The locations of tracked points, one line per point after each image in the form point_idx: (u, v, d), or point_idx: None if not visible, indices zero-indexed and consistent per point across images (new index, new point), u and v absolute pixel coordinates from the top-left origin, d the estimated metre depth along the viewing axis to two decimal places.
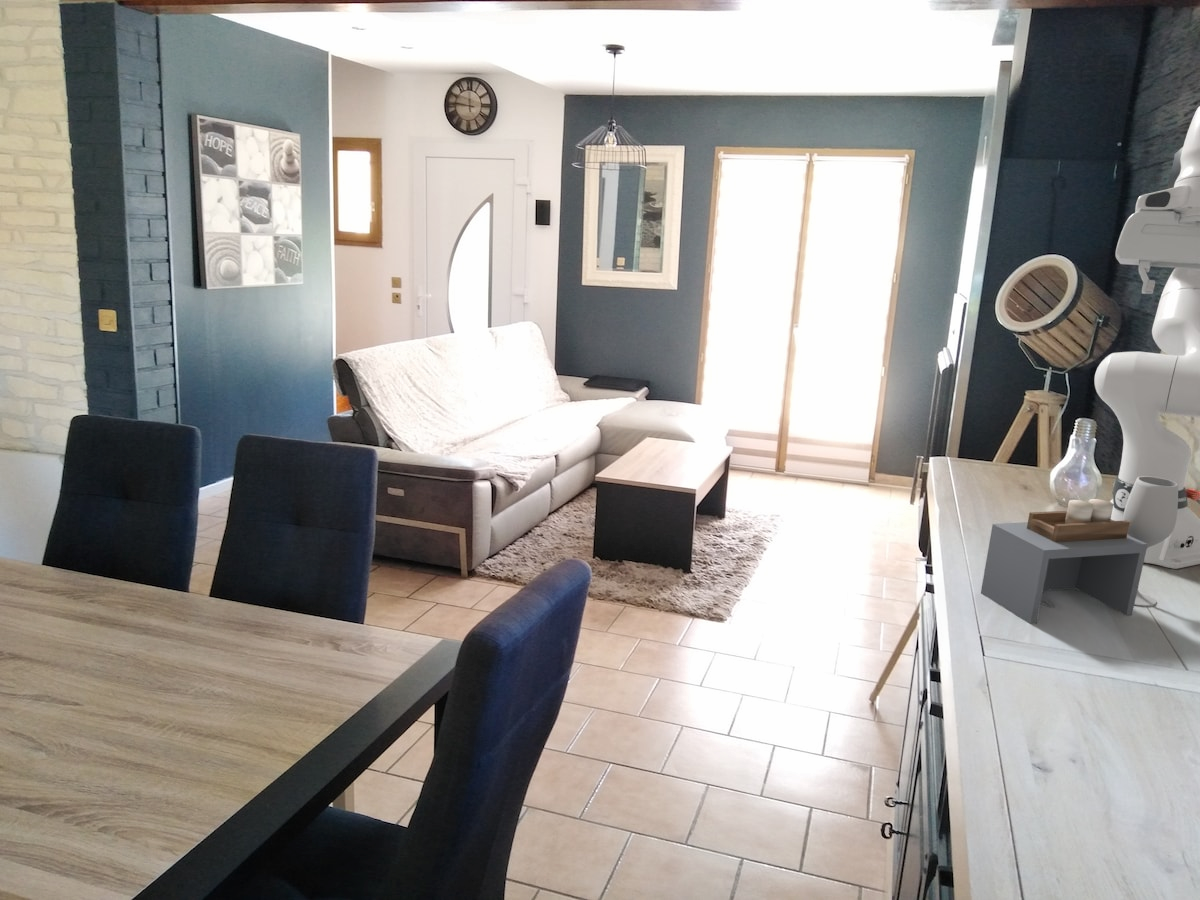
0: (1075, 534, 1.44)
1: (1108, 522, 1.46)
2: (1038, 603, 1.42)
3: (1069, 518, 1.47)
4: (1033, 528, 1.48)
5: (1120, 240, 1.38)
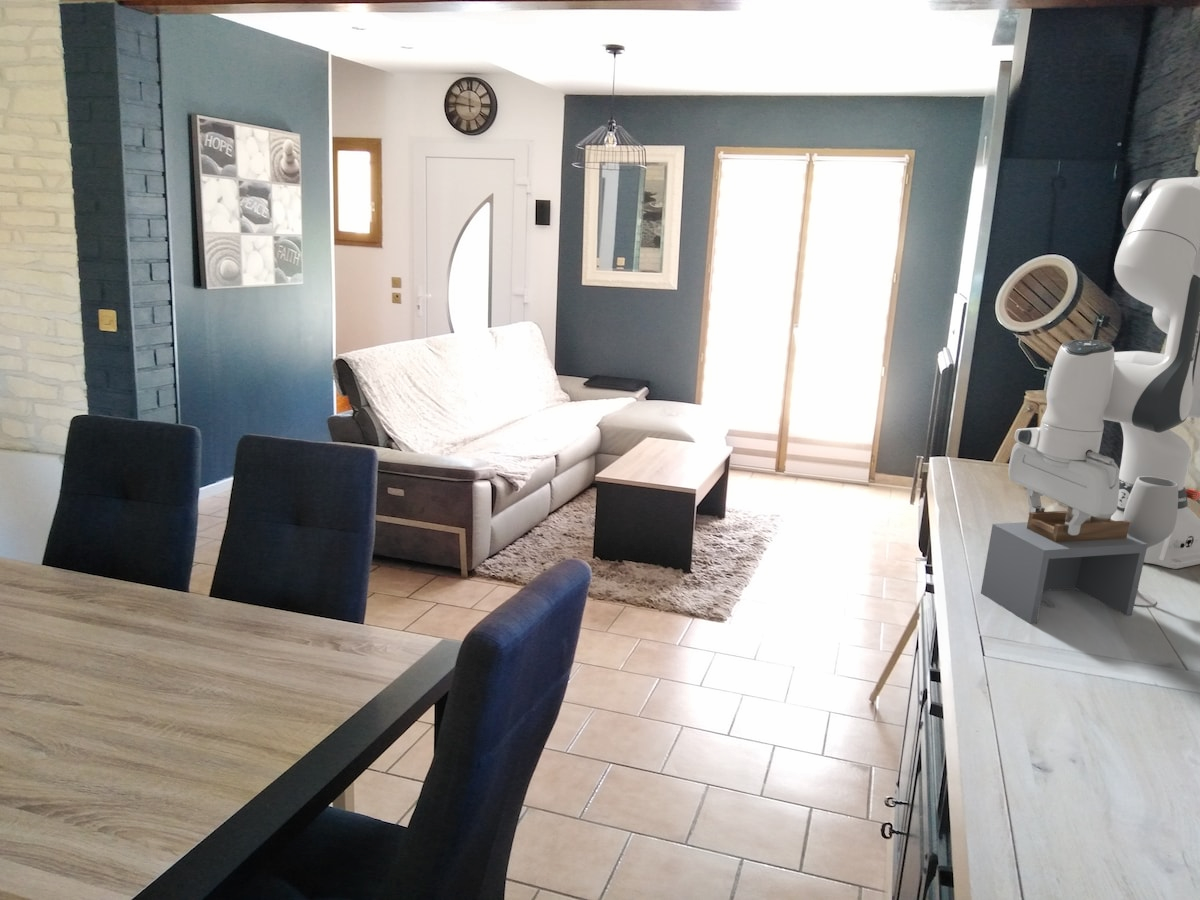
0: None
1: (1108, 522, 1.46)
2: (1038, 603, 1.42)
3: (1069, 518, 1.47)
4: (1033, 528, 1.48)
5: (1009, 465, 1.53)
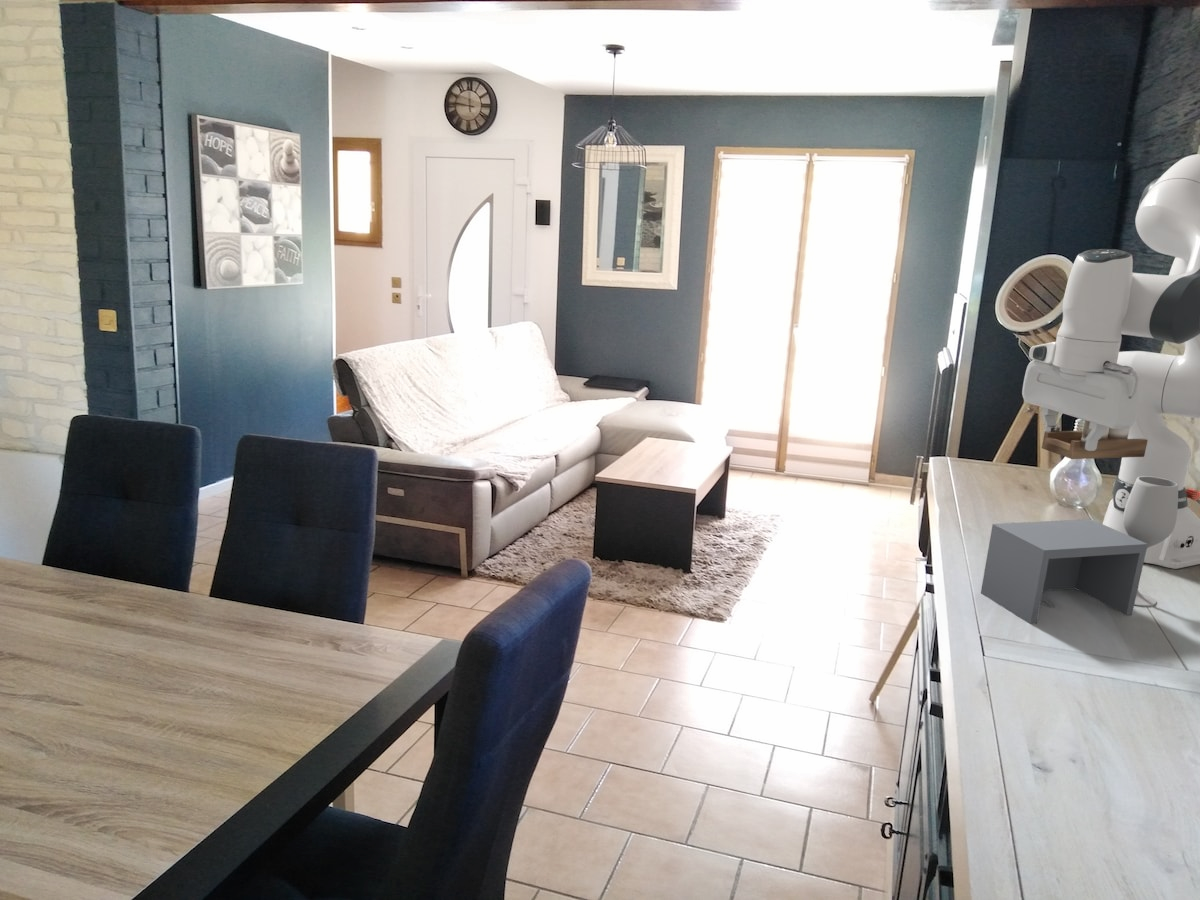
0: (1092, 451, 1.40)
1: (1125, 439, 1.42)
2: (1038, 603, 1.42)
3: (1086, 436, 1.43)
4: (1048, 447, 1.44)
5: (1023, 386, 1.49)
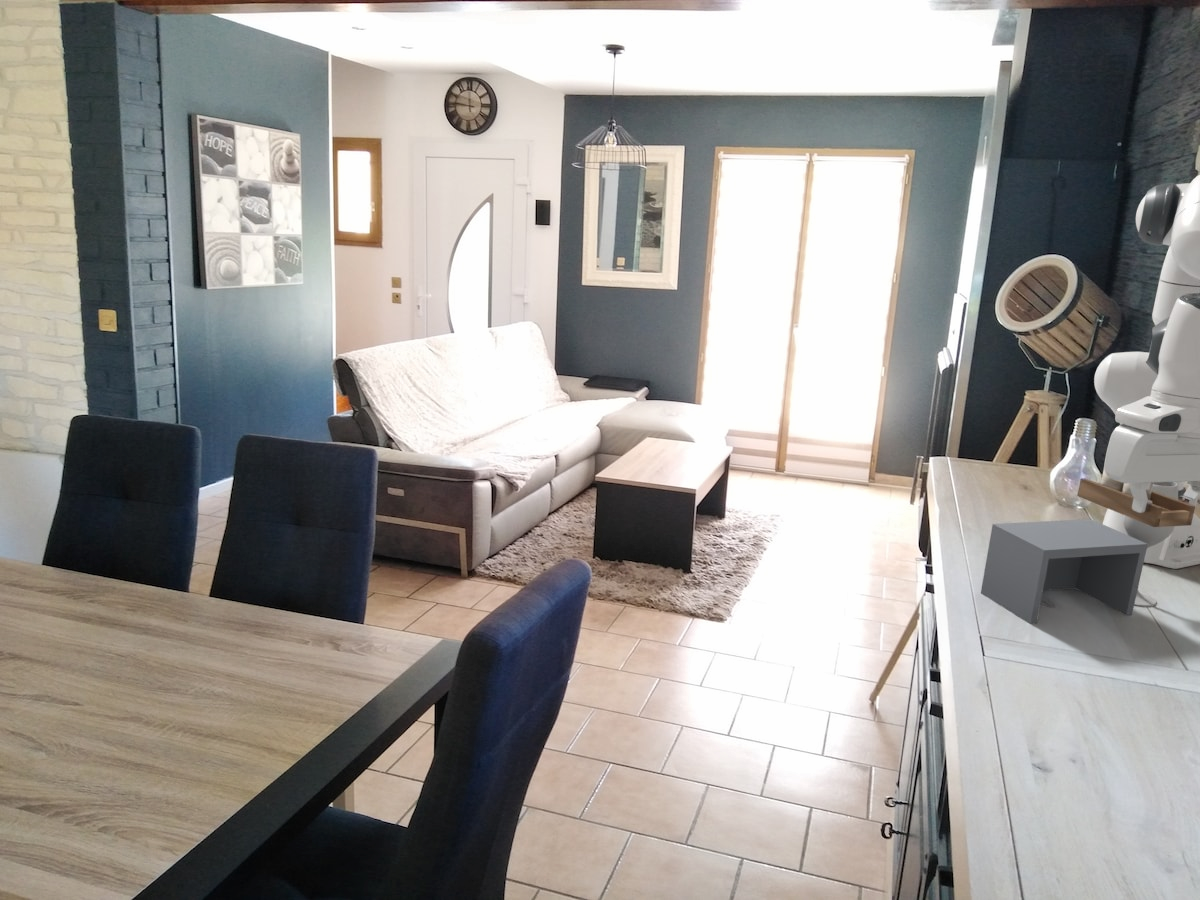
0: None
1: None
2: (1038, 603, 1.42)
3: (1147, 496, 1.29)
4: (1163, 523, 1.24)
5: (1129, 466, 1.20)
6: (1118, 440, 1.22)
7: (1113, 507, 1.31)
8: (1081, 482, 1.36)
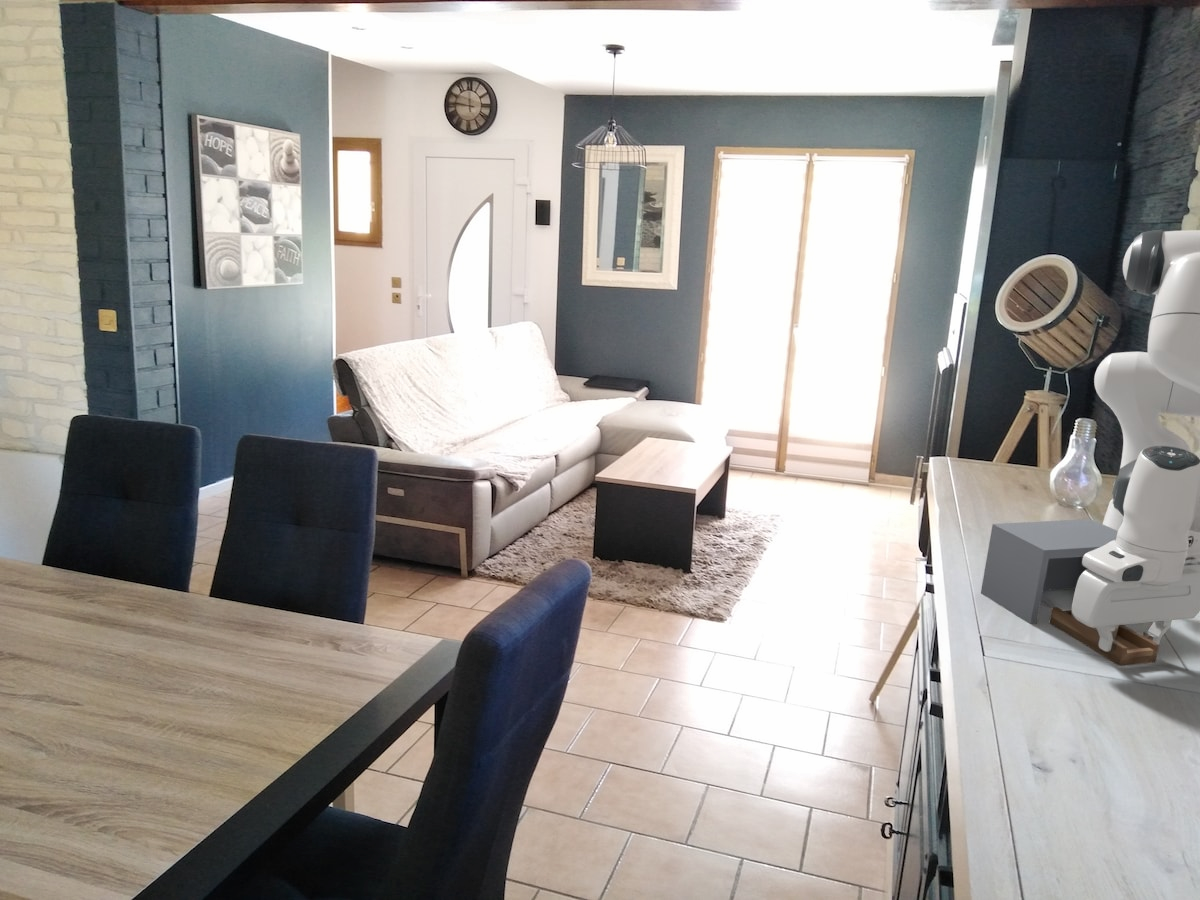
0: None
1: None
2: (1038, 603, 1.42)
3: (1114, 631, 1.35)
4: (1128, 661, 1.31)
5: (1094, 612, 1.26)
6: (1085, 586, 1.28)
7: (1082, 640, 1.37)
8: (1053, 611, 1.42)
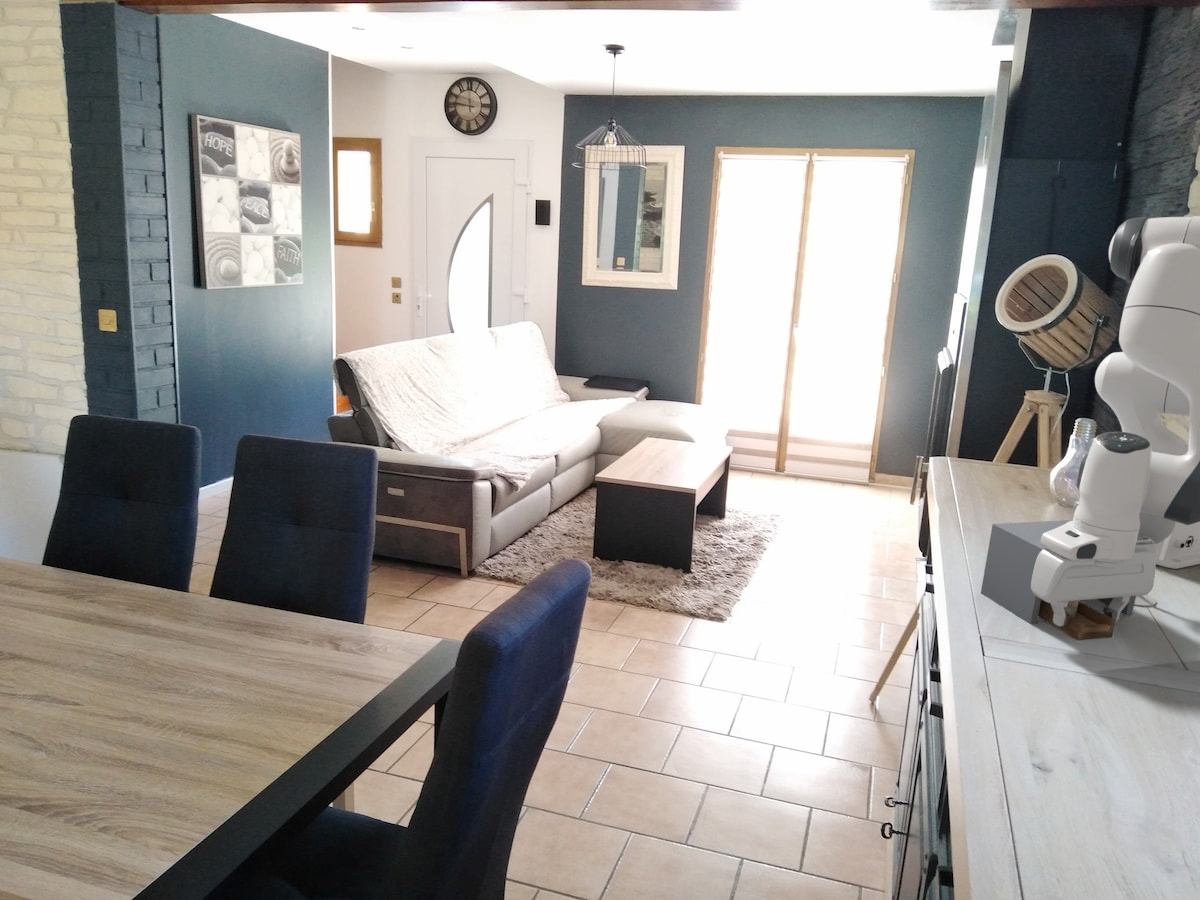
0: None
1: None
2: (1038, 603, 1.42)
3: (1074, 608, 1.43)
4: (1085, 636, 1.38)
5: (1051, 588, 1.34)
6: (1042, 563, 1.36)
7: (1044, 617, 1.44)
8: None
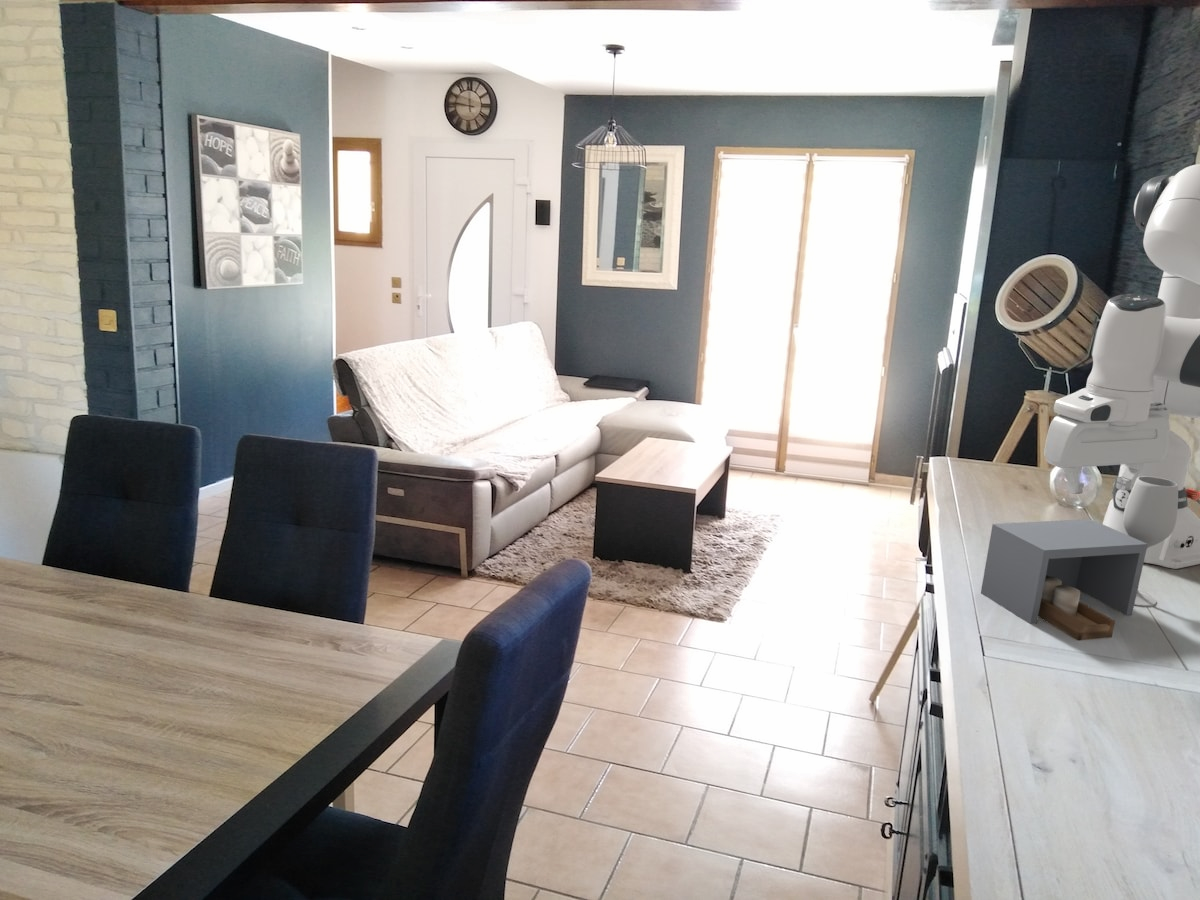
0: None
1: None
2: (1038, 603, 1.42)
3: (1074, 608, 1.43)
4: (1085, 636, 1.38)
5: (1065, 452, 1.33)
6: (1056, 429, 1.35)
7: (1044, 617, 1.44)
8: None
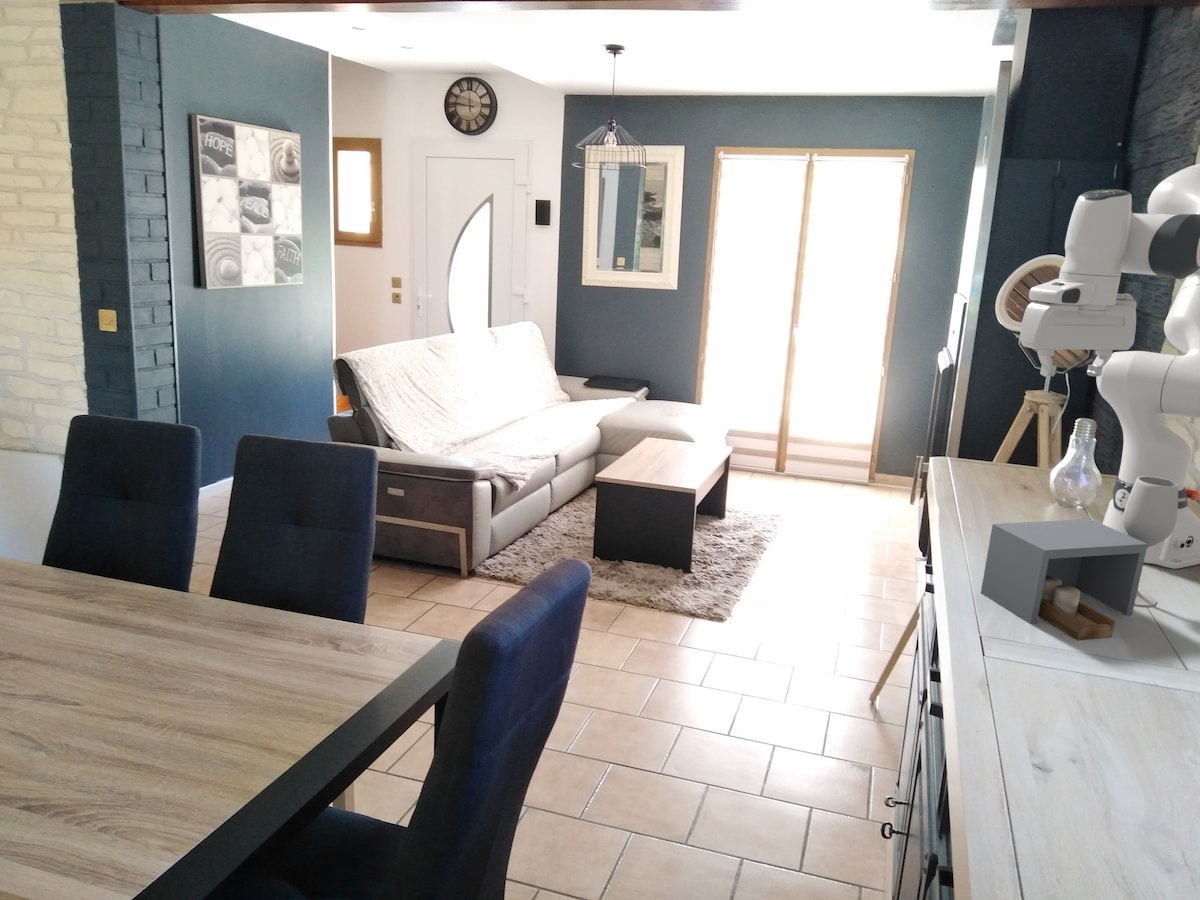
0: None
1: None
2: (1038, 603, 1.42)
3: (1074, 608, 1.43)
4: (1085, 636, 1.38)
5: (1038, 333, 1.44)
6: (1030, 313, 1.46)
7: (1044, 617, 1.44)
8: None
